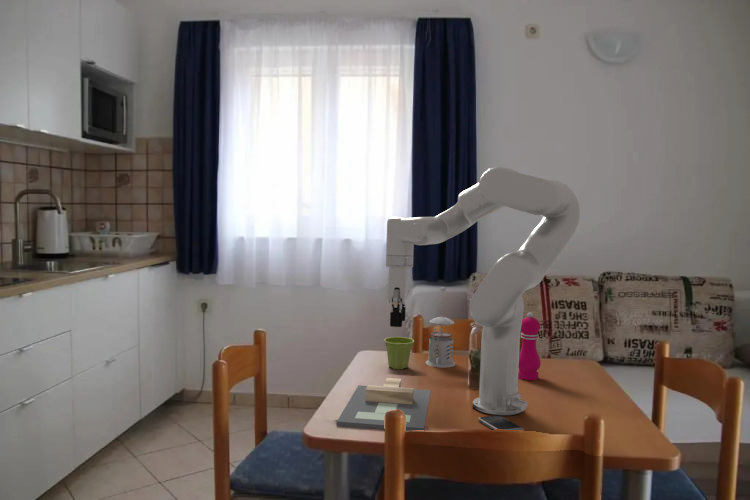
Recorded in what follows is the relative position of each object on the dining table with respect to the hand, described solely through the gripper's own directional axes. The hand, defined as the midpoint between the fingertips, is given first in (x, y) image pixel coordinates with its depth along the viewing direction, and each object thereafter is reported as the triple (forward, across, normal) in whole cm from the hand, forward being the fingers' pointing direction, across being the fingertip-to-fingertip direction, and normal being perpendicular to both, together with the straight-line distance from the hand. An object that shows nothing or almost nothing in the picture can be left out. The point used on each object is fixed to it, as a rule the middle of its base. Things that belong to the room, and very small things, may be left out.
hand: (397, 323), depth 177 cm
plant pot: (+18, -22, -2) cm, 29 cm away
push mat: (+18, +19, 0) cm, 26 cm away
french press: (+18, -29, +11) cm, 36 cm away
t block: (+17, +12, 0) cm, 21 cm away
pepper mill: (+18, -20, +38) cm, 46 cm away
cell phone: (+19, +26, +28) cm, 43 cm away
